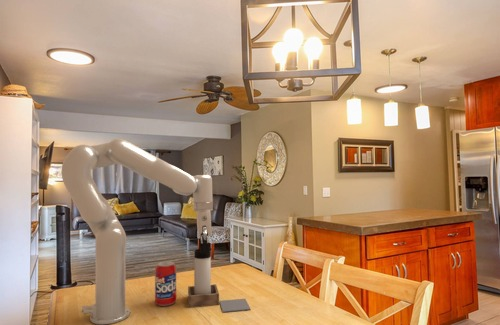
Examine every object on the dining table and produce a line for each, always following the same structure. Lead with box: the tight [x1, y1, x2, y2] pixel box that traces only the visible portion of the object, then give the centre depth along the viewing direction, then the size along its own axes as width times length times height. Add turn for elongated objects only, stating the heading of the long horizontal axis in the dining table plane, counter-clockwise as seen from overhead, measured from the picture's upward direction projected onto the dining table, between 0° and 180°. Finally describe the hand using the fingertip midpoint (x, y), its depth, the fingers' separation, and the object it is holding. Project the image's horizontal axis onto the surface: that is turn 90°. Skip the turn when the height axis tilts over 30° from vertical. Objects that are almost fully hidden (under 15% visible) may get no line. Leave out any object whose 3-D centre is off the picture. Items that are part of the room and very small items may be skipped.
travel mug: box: [193, 247, 212, 295], centre depth 127 cm, size 6×7×20 cm
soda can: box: [154, 260, 177, 307], centre depth 124 cm, size 8×8×15 cm
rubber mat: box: [219, 298, 251, 314], centre depth 121 cm, size 10×10×1 cm
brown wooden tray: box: [187, 283, 220, 308], centre depth 126 cm, size 11×11×4 cm
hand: (204, 250), depth 127 cm, fingers open, 9 cm apart
